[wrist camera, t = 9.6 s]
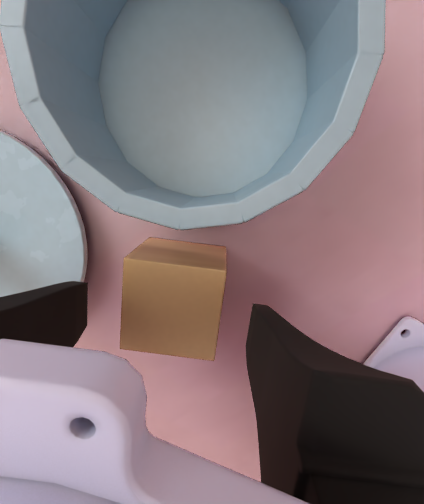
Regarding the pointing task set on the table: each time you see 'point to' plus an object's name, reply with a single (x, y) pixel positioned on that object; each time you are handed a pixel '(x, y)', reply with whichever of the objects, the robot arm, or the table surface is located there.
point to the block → (173, 298)
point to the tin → (193, 97)
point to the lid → (36, 223)
